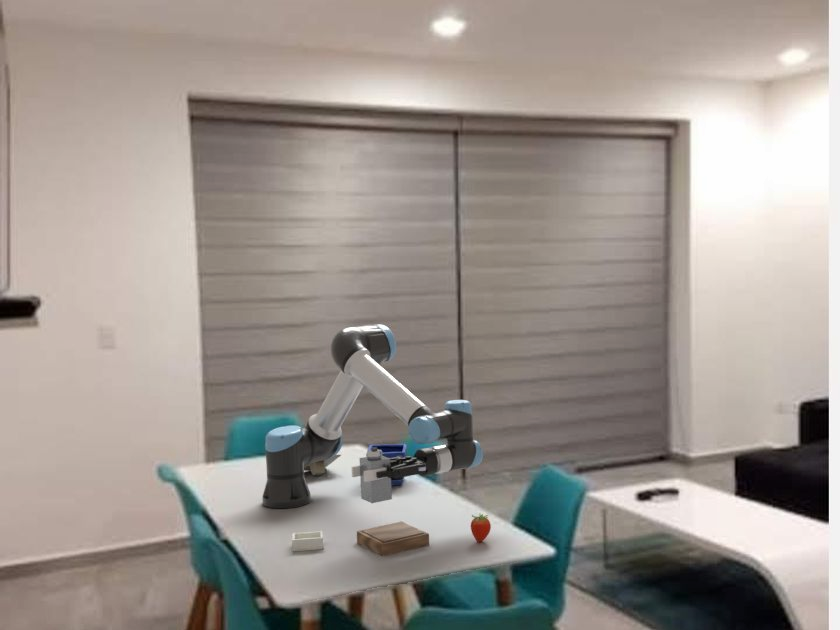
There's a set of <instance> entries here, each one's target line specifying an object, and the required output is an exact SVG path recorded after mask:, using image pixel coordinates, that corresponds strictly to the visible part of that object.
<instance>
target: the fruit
mask: <svg viewBox="0 0 840 630" xmlns="http://www.w3.org/2000/svg"><path fill="white" fill-rule="evenodd" d="M471 517H472V518H473V519H472V521H471V523H470V531H471V534H472V536H473V537H474V539H475V540H476V542H478V543H482V542H483V541H484V540H486V538H487V537H488V536H489V534H490V532H491V530H492V529H491V528H492V526H491V522H490V520H489V516H488V514H486V515H484V514H483V513H482V514H480V515H478V516H476V515H475V516H474V515H473V514H471Z"/></svg>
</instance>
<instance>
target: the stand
mask: <svg viewBox="0 0 840 630" xmlns="http://www.w3.org/2000/svg"><path fill="white" fill-rule="evenodd" d="M356 543H357V544H359V545H361V546H363V547H365V548H367V549H369V550H371V551H373V552H375V553H377V554H379V555H381V556H382V557H385V556H389V555H394V554H397V553H402V552H406V551H410V550H414V549H415V550H416V549H418V548H423V547H426V546H430V533H428V532H426V531H424V530H421V529H419V528H417V527H414V526H412V525H410V524H407V523H406V522H404V521H397V522H393V523H389V524H384V525H380V526H379V525H378V526H375V527H369V528H365V529H360V530H357V531H356Z"/></svg>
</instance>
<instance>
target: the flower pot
mask: <svg viewBox="0 0 840 630" xmlns="http://www.w3.org/2000/svg"><path fill="white" fill-rule="evenodd" d="M407 446H408V445H407V444H406V443H391V444H389V443H385V444H370V445H369V446H368V448H367V450H366V454H365V455H366V456H365V457H367V451H368V450H371V448H373V447H377V449H379V450H382V456H384V457H387V458H394V457H398V456H402V458H405V457H406V456H407V451H408V447H407ZM404 480H405V477H402V478H397V479H394V477H392V478H391V487H392V486H401V485H402V484H403V483H404Z"/></svg>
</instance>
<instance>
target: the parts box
mask: <svg viewBox="0 0 840 630" xmlns="http://www.w3.org/2000/svg"><path fill="white" fill-rule="evenodd" d="M323 533H324V532H323V530H320V531H319V530H318V531H306V532H305V531H304V532H293V533H292V534H291V535H292V536H291V537H292V539H291V542H292V552H301V551H302V552H303V551H315V550H316V551H317V550H324V535H323Z"/></svg>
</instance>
